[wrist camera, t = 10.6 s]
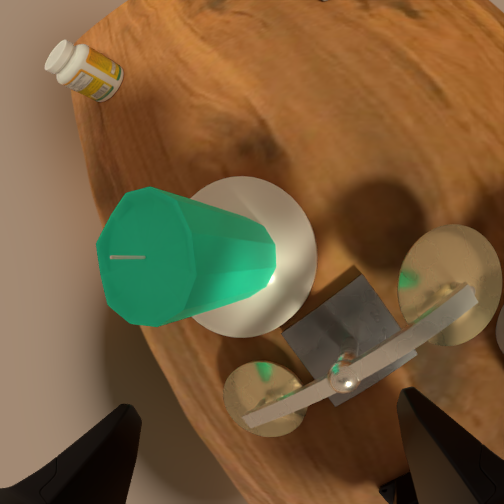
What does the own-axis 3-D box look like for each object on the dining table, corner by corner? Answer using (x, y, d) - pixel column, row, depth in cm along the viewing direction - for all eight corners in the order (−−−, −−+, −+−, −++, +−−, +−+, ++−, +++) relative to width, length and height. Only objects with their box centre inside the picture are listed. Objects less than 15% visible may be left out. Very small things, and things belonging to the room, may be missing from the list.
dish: (352, 272, 20) (351, 272, 19) (227, 361, 23) (221, 365, 22) (251, 149, 22) (247, 145, 21) (152, 244, 26) (145, 244, 25)
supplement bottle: (109, 106, 29) (49, 77, 20) (90, 99, 31) (36, 75, 22) (132, 68, 28) (76, 33, 19) (111, 65, 30) (59, 35, 21)
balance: (487, 289, 16) (546, 305, 8) (266, 436, 22) (224, 496, 14) (435, 210, 17) (476, 182, 10) (218, 374, 23) (157, 415, 15)
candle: (263, 204, 21) (153, 151, 10) (288, 286, 20) (193, 320, 9) (193, 232, 23) (62, 214, 12) (213, 307, 22) (87, 343, 11)
